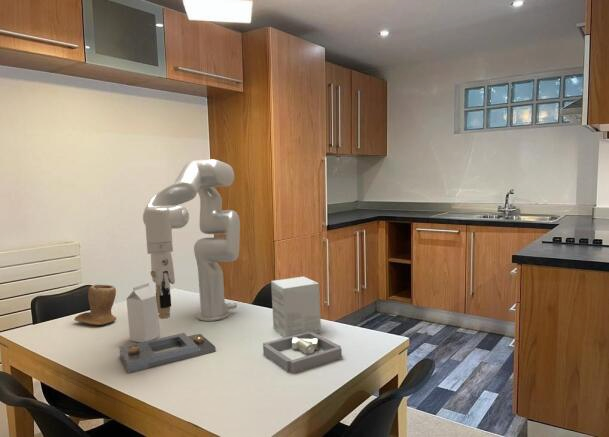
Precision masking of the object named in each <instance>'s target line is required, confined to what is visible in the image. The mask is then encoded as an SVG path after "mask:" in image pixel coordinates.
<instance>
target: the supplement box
mask: <svg viewBox="0 0 609 437" xmlns="http://www.w3.org/2000/svg"><path fill="white" fill-rule="evenodd" d="M270 283H271V303H272V304H271V305H272V307H271V308H272V323H273V327H272V328H273V329H274V330H275V331H276V332H278V334H280V335H281V337H282V338H285V337H289V336H293V335H297V334H301V333H305V332H311V333H312V332H314V333H316V334H319V333H322V327H321V326H322V325H321V324H322V323H321V322H322V320H321V306H320V305H321V303H320V302H321V301H320V285H319V284H320V283H319V282H317V281H315V280H313V279H310V278H308V277H306V276H299V277H298V276H297V277H291V278H284V279H278V280H277V279H276V280H271V281H270Z"/></svg>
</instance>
